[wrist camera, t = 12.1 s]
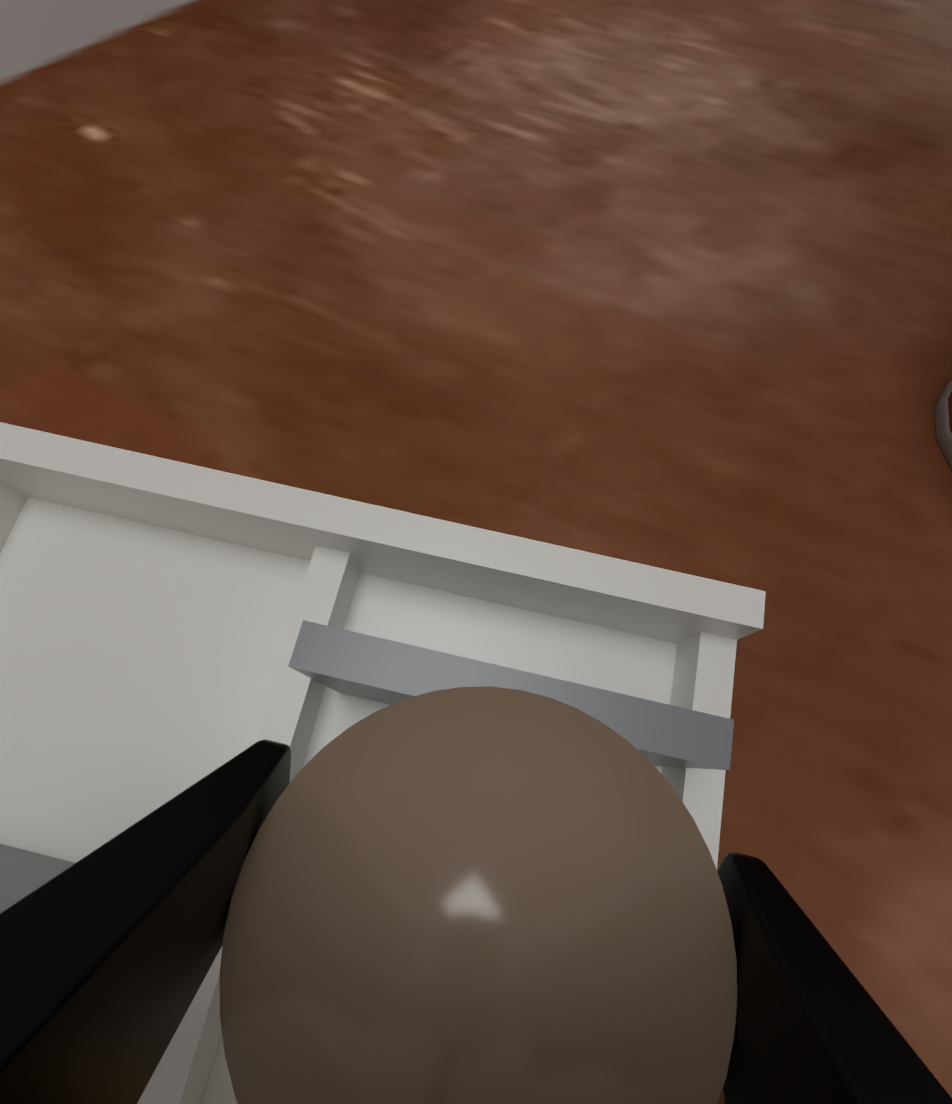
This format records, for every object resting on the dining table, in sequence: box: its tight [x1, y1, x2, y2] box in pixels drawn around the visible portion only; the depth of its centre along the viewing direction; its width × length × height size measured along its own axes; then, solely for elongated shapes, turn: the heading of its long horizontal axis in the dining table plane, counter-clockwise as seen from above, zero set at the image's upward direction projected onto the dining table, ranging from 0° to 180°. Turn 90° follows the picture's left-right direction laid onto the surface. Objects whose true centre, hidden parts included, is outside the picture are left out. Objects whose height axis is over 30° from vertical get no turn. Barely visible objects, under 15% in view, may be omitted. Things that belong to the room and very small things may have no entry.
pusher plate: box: [288, 620, 734, 770], centre depth 15 cm, size 1×9×5 cm, turn 77°
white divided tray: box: [0, 422, 766, 1104], centre depth 14 cm, size 16×23×6 cm
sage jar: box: [219, 686, 737, 1104], centre depth 11 cm, size 6×6×8 cm
